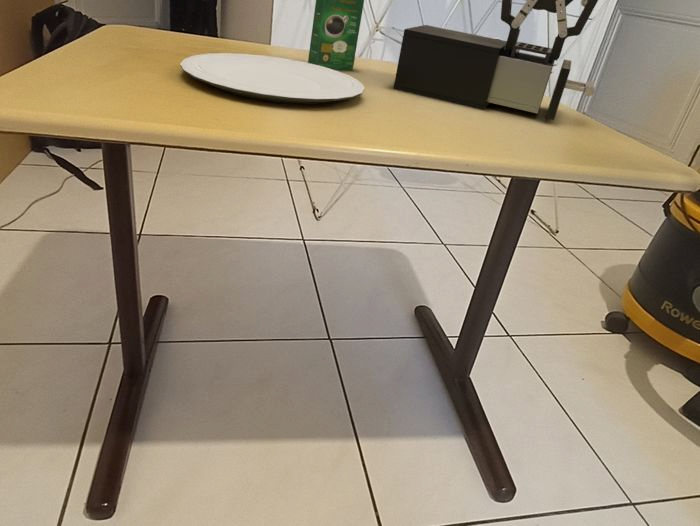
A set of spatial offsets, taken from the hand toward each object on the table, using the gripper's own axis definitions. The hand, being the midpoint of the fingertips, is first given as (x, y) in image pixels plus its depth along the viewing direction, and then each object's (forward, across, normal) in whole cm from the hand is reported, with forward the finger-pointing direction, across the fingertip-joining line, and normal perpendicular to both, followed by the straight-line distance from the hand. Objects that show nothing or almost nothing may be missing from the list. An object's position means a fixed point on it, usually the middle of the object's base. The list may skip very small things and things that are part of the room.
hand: (530, 58), depth 86 cm
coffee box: (+8, -32, -2) cm, 33 cm away
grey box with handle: (+7, +1, 0) cm, 7 cm away
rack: (+1, 0, 0) cm, 1 cm away
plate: (+8, -32, -23) cm, 40 cm away
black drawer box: (+8, -12, 0) cm, 14 cm away
